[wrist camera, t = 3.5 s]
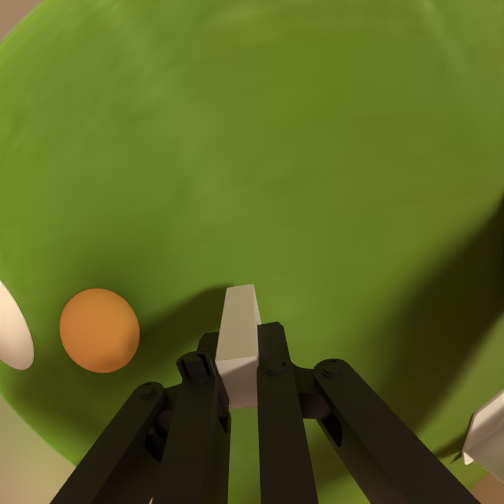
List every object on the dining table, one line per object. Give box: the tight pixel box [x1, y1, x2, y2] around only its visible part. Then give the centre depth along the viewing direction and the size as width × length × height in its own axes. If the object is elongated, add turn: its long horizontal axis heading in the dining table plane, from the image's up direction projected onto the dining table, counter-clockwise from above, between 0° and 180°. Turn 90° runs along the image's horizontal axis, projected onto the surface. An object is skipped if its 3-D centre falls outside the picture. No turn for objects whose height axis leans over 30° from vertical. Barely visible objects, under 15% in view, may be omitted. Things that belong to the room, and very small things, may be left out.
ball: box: [60, 288, 140, 373], centre depth 16 cm, size 6×6×6 cm
